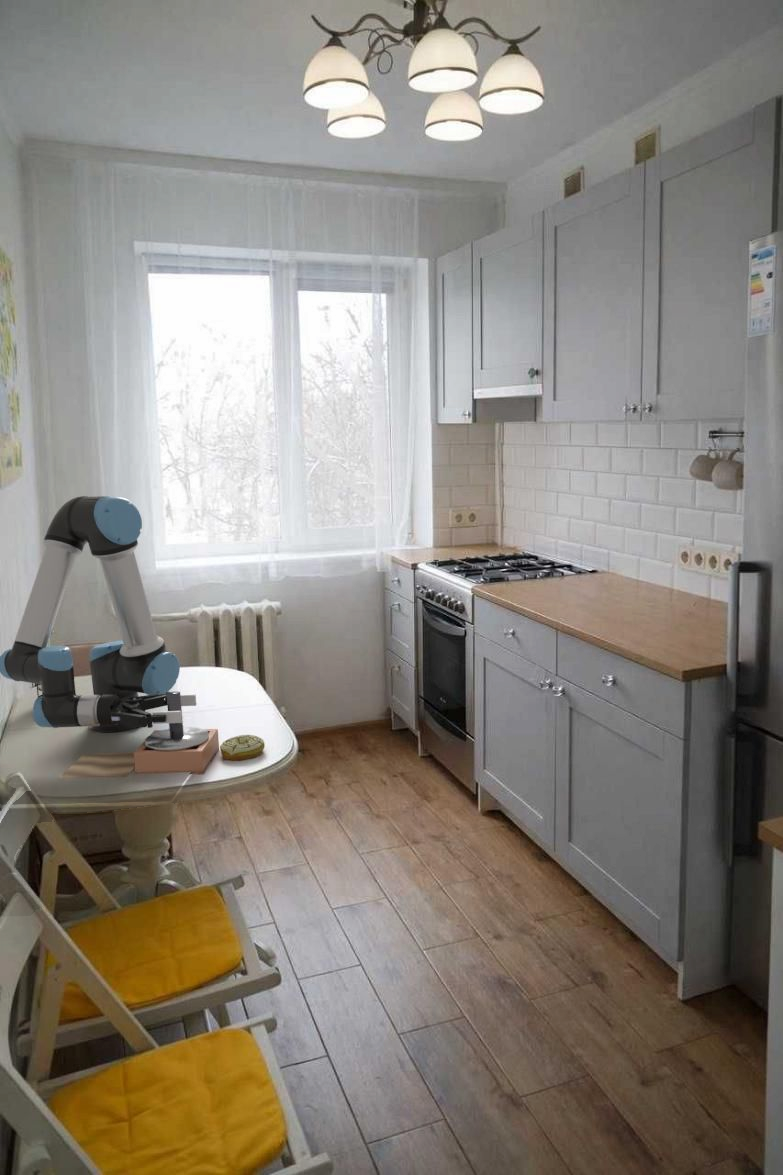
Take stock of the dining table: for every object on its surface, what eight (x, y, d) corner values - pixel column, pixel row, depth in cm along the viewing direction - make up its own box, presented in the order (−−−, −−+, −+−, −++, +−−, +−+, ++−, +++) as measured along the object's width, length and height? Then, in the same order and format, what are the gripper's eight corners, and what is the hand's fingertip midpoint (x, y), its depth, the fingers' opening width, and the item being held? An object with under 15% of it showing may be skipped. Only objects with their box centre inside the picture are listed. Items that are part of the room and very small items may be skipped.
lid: (155, 730, 222) (151, 685, 220) (215, 729, 222) (211, 683, 220) (136, 752, 207) (132, 703, 205) (200, 750, 207) (196, 701, 205)
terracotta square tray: (156, 751, 224) (154, 730, 223) (219, 749, 223) (217, 728, 222) (135, 775, 208) (133, 752, 207) (203, 773, 207) (201, 751, 206)
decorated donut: (214, 753, 221) (213, 738, 221) (254, 744, 227) (253, 729, 226) (230, 765, 213) (229, 750, 212) (271, 755, 218) (270, 740, 218)
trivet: (84, 755, 222) (84, 753, 222) (147, 754, 222) (147, 752, 222) (58, 780, 207) (58, 777, 207) (126, 778, 206) (126, 776, 206)
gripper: (119, 709, 227) (202, 707, 226) (82, 742, 202) (175, 740, 201) (116, 681, 225) (200, 679, 225) (79, 711, 201) (172, 708, 200)
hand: (188, 708), depth 213 cm, fingers open, 13 cm apart
